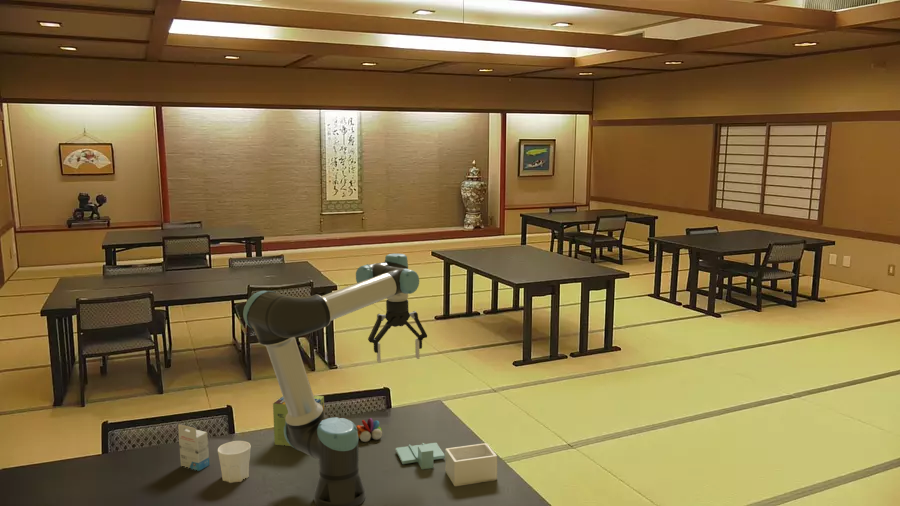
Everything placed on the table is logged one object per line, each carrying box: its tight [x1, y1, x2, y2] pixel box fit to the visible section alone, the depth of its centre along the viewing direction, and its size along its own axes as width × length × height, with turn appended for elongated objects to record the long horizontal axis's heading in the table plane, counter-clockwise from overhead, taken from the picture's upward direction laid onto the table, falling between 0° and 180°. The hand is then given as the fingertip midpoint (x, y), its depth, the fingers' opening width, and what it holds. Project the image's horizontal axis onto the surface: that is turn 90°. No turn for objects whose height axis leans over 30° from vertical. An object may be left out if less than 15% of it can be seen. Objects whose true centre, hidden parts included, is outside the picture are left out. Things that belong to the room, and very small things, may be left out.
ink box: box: [177, 423, 210, 472], centre depth 226 cm, size 9×5×15 cm, turn 62°
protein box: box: [272, 395, 325, 447], centre depth 245 cm, size 10×15×16 cm
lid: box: [395, 442, 445, 470], centre depth 231 cm, size 15×15×6 cm
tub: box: [444, 442, 498, 487], centre depth 218 cm, size 14×10×8 cm
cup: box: [217, 440, 252, 484], centre depth 219 cm, size 10×10×10 cm
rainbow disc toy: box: [356, 417, 383, 443], centre depth 248 cm, size 8×10×7 cm
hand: (398, 359), depth 236 cm, fingers open, 13 cm apart
